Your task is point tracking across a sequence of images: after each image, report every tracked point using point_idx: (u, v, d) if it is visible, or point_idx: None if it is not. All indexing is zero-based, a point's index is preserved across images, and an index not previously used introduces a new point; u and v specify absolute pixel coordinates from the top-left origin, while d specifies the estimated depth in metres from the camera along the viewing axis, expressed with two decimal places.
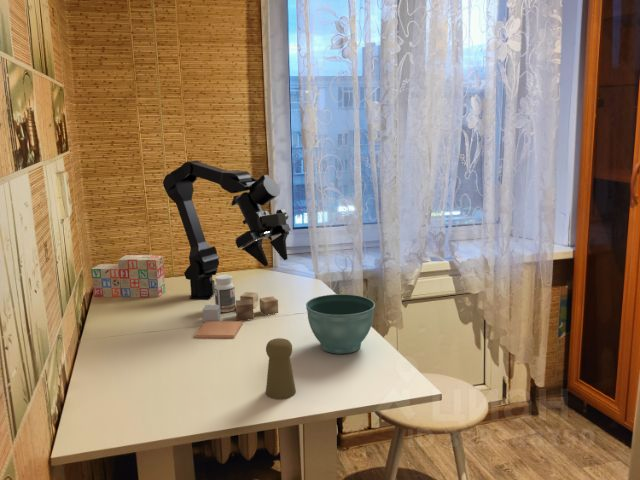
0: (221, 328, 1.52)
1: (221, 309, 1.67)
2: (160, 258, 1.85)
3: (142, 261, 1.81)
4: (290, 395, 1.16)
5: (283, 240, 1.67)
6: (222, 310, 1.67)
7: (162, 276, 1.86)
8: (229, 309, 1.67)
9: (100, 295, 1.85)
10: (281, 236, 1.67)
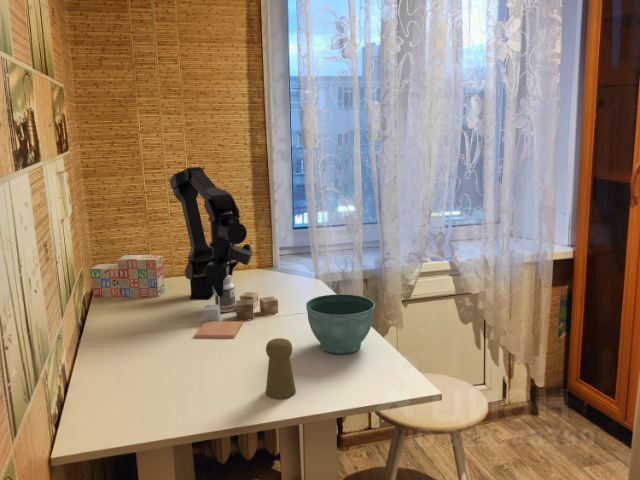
0: (221, 328, 1.52)
1: (221, 309, 1.67)
2: (159, 258, 1.85)
3: (142, 261, 1.81)
4: (290, 395, 1.16)
5: (233, 268, 1.73)
6: (222, 310, 1.67)
7: (161, 276, 1.86)
8: (229, 309, 1.67)
9: (99, 295, 1.85)
10: (233, 265, 1.72)
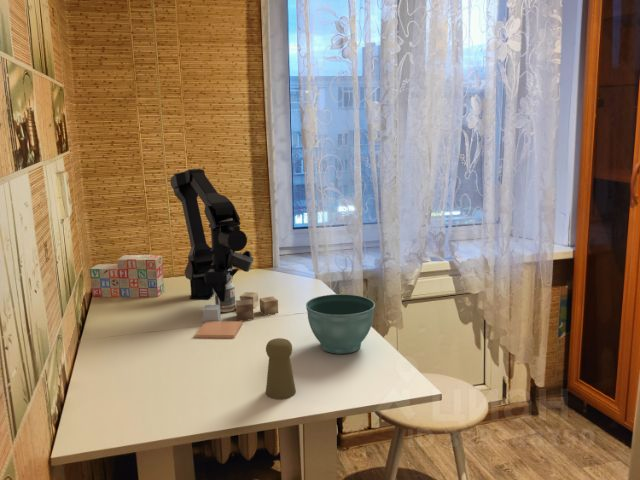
0: (221, 328, 1.52)
1: (221, 309, 1.67)
2: (159, 258, 1.85)
3: (141, 261, 1.81)
4: (290, 395, 1.16)
5: (232, 276, 1.71)
6: (222, 310, 1.67)
7: (161, 276, 1.87)
8: (229, 309, 1.67)
9: (99, 295, 1.85)
10: (232, 273, 1.71)
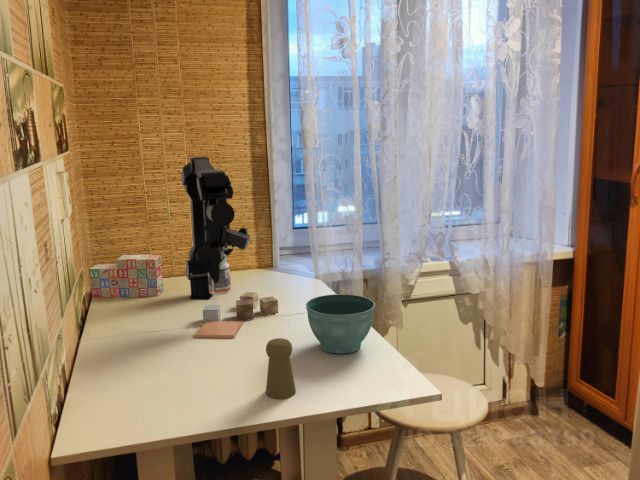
0: (221, 328, 1.52)
1: (215, 291, 1.51)
2: (159, 257, 1.85)
3: (141, 261, 1.82)
4: (290, 395, 1.16)
5: (227, 256, 1.56)
6: (216, 292, 1.51)
7: (160, 275, 1.87)
8: (224, 291, 1.52)
9: (98, 295, 1.85)
10: (227, 252, 1.56)
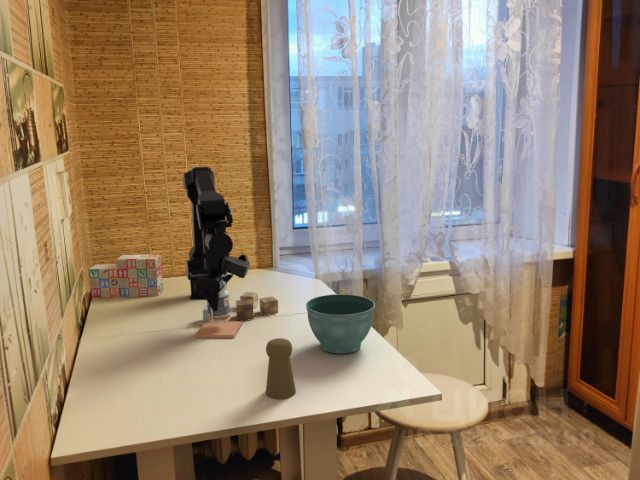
0: (221, 328, 1.52)
1: (214, 319, 1.49)
2: (158, 257, 1.86)
3: (141, 260, 1.82)
4: (290, 395, 1.16)
5: (226, 282, 1.54)
6: (215, 320, 1.49)
7: (160, 275, 1.88)
8: (223, 319, 1.50)
9: (98, 295, 1.85)
10: (226, 279, 1.54)
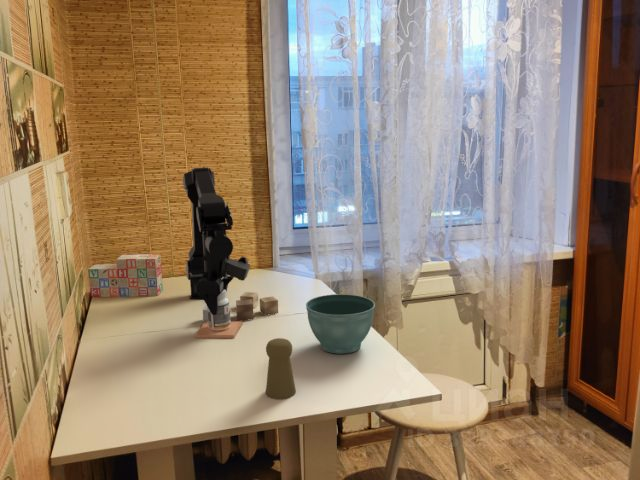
0: None
1: (214, 327, 1.50)
2: (158, 257, 1.86)
3: (141, 260, 1.82)
4: (290, 395, 1.16)
5: (227, 284, 1.55)
6: (216, 328, 1.50)
7: (160, 275, 1.88)
8: (223, 327, 1.50)
9: (97, 295, 1.85)
10: (227, 280, 1.54)
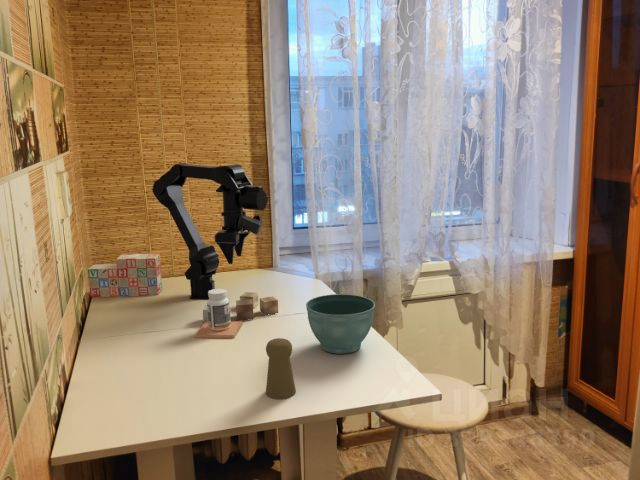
0: None
1: (214, 327, 1.50)
2: (158, 256, 1.87)
3: (141, 260, 1.83)
4: (290, 395, 1.16)
5: (244, 238, 1.79)
6: (216, 328, 1.50)
7: (160, 274, 1.89)
8: (223, 327, 1.50)
9: (97, 295, 1.85)
10: (244, 235, 1.78)
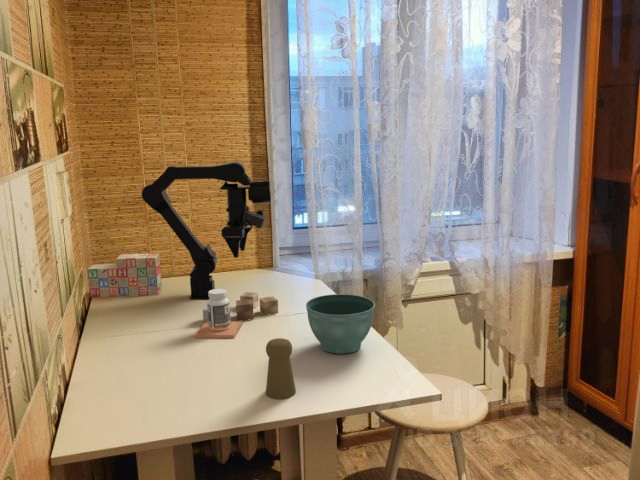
0: None
1: (215, 327, 1.50)
2: (157, 256, 1.87)
3: (141, 259, 1.83)
4: (290, 395, 1.16)
5: (247, 233, 1.86)
6: (216, 328, 1.50)
7: (159, 274, 1.89)
8: (223, 327, 1.50)
9: (97, 295, 1.85)
10: (247, 230, 1.85)
